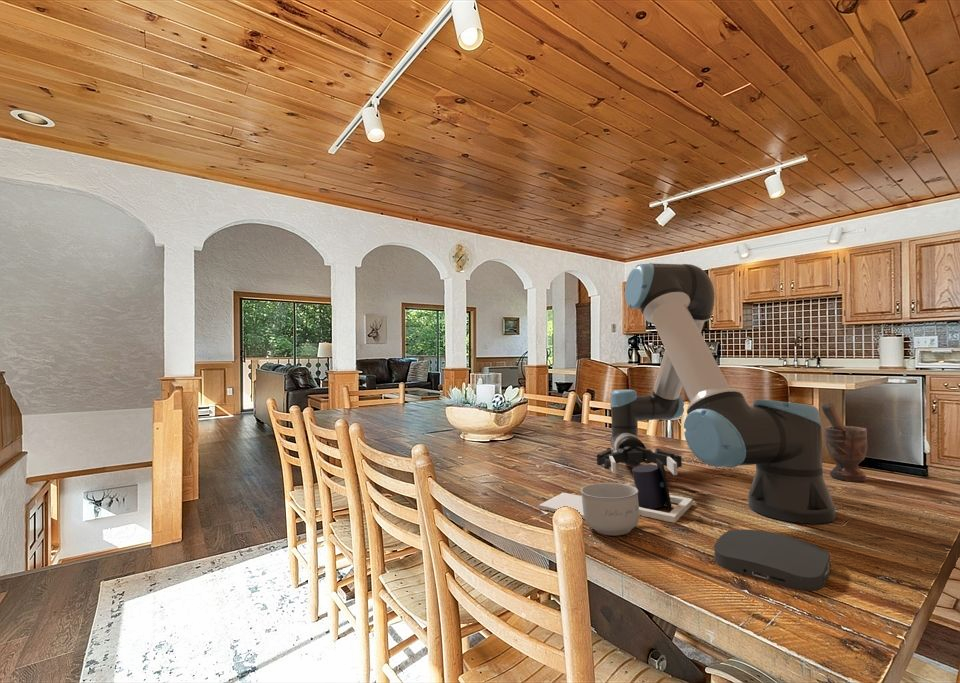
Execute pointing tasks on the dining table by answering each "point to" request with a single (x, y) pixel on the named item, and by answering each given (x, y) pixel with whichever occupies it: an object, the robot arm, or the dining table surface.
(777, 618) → the dining table surface
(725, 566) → the media streaming box
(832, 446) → the mortar and pestle
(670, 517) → the picture frame
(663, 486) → the speaker
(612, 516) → the teacup
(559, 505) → the mat
